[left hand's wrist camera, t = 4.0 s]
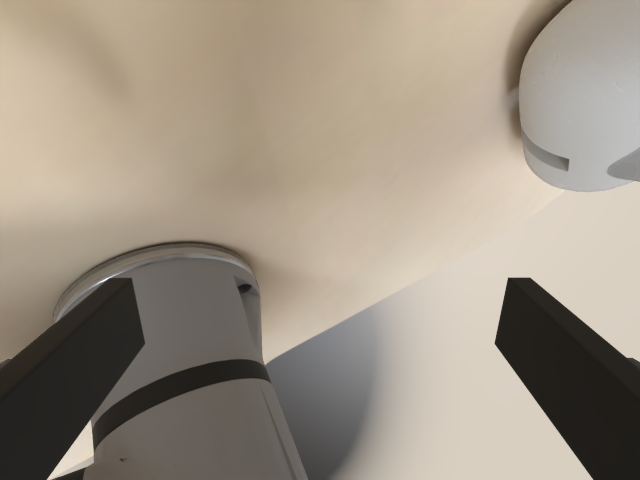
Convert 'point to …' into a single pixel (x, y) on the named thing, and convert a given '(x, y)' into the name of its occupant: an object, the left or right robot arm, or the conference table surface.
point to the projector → (584, 97)
